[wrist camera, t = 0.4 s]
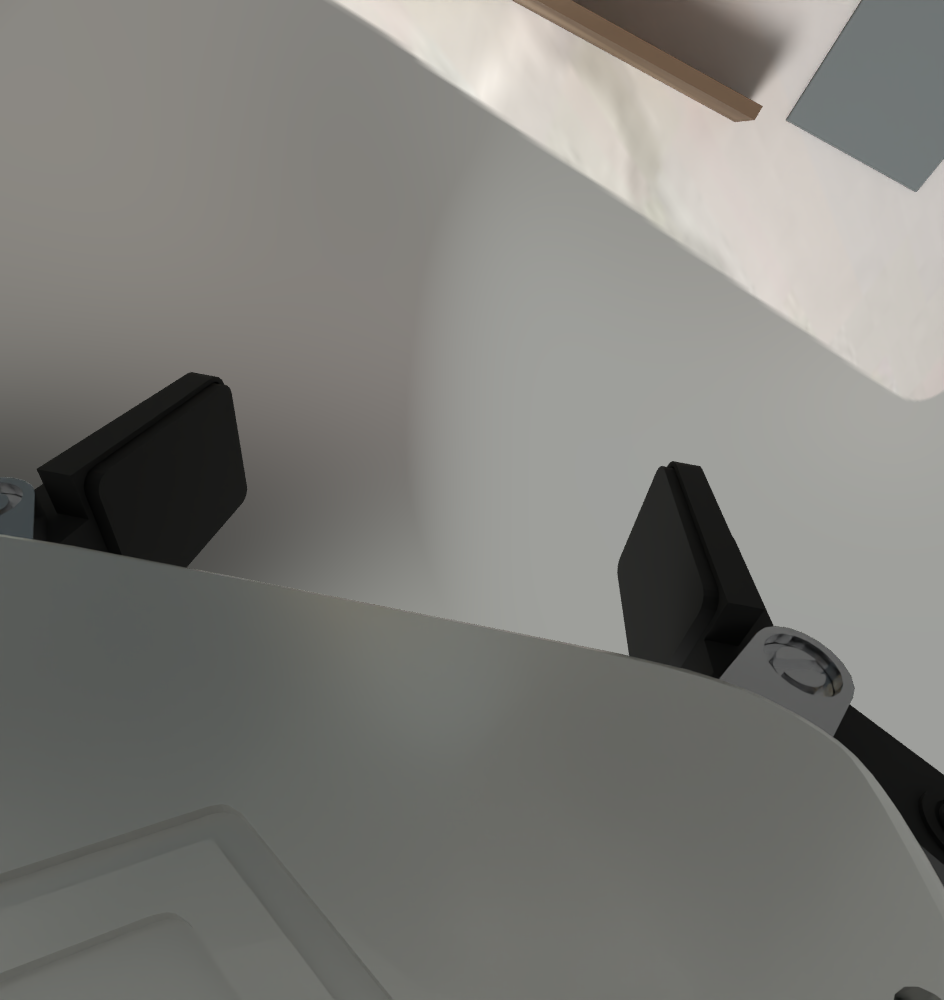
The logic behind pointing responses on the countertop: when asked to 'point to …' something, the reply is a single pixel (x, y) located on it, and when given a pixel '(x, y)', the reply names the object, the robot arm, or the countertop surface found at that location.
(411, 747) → the robot arm
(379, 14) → the countertop surface
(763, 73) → the countertop surface
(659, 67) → the wooden bench
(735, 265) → the countertop surface
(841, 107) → the potting mat
